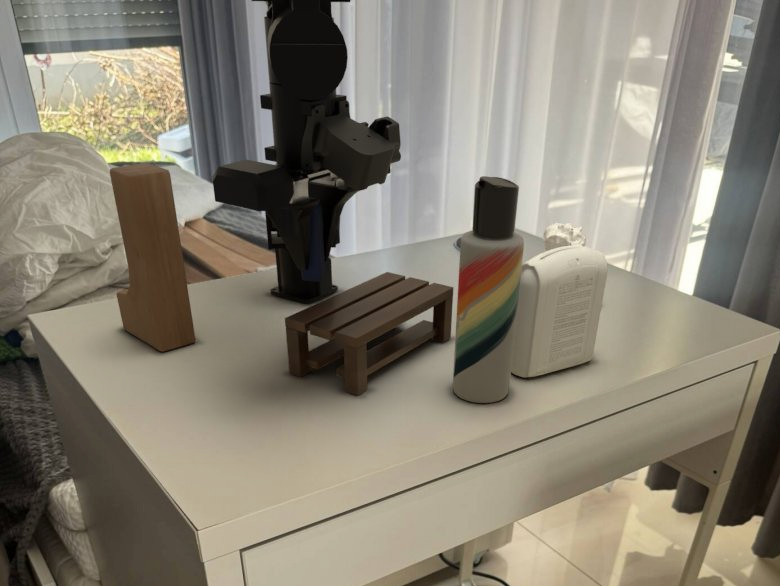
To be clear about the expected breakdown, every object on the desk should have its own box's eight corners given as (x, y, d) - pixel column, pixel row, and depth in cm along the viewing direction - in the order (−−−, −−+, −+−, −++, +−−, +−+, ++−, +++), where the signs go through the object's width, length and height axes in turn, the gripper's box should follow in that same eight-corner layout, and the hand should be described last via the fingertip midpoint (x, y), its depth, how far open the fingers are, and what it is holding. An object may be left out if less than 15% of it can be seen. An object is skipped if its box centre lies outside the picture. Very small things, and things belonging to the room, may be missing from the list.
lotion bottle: (449, 379, 80) (459, 170, 68) (503, 378, 81) (523, 170, 69) (456, 405, 76) (469, 185, 64) (513, 403, 76) (537, 185, 64)
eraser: (327, 275, 77) (323, 203, 73) (320, 282, 75) (316, 209, 71) (306, 273, 77) (301, 201, 73) (299, 281, 76) (294, 207, 72)
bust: (586, 315, 101) (554, 234, 100) (632, 292, 95) (598, 205, 94) (527, 338, 95) (492, 251, 94) (572, 315, 89) (534, 222, 87)
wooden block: (122, 329, 90) (86, 160, 79) (157, 320, 92) (127, 154, 81) (161, 353, 84) (128, 175, 74) (197, 343, 87) (171, 169, 76)
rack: (288, 373, 81) (284, 317, 77) (386, 321, 93) (387, 271, 89) (357, 396, 77) (356, 338, 73) (450, 338, 89) (453, 287, 85)
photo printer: (570, 348, 87) (588, 235, 80) (598, 362, 84) (618, 245, 77) (500, 368, 83) (511, 250, 75) (526, 383, 80) (540, 262, 72)
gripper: (303, 105, 56) (314, 312, 66) (440, 80, 69) (433, 257, 78) (196, 90, 61) (221, 285, 71) (341, 69, 74) (346, 237, 83)
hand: (312, 265), depth 76 cm, fingers closed on eraser, 2 cm apart
